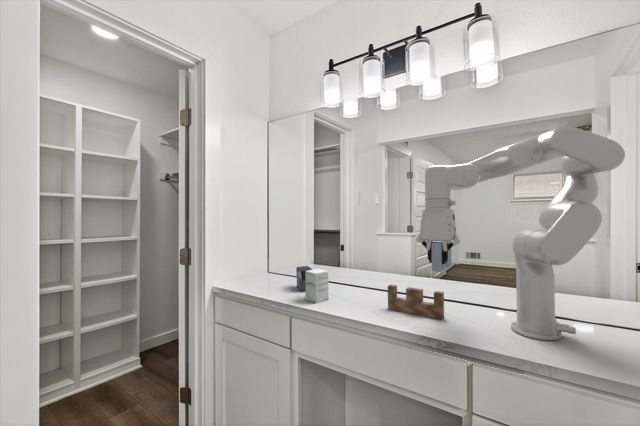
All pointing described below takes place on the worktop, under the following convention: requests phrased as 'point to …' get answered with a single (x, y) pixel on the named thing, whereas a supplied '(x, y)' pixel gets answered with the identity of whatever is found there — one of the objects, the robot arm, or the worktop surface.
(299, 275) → the small box
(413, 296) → the notched board
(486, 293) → the worktop surface
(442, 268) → the crosspiece
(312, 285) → the supplement box
